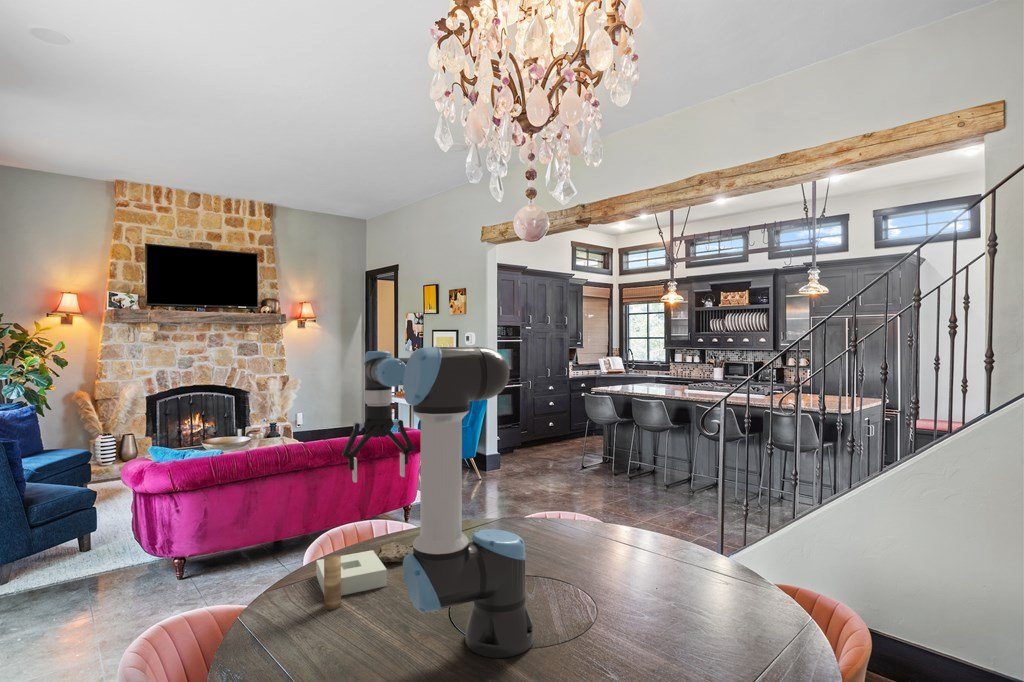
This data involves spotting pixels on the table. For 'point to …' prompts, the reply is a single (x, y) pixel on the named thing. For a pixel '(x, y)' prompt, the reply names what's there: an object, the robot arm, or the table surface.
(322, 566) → the socket block
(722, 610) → the table surface
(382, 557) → the rock
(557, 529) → the table surface
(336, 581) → the dowel
